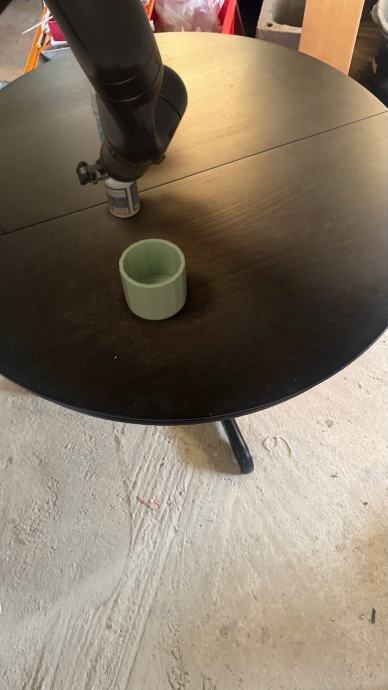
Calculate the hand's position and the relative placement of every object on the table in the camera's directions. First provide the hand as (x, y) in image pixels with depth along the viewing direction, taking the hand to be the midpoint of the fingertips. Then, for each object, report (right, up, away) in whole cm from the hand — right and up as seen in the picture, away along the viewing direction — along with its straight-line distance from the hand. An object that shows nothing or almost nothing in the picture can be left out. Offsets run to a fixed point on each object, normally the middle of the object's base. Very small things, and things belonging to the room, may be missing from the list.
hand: (116, 172), depth 84 cm
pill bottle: (+1, -5, +5) cm, 7 cm away
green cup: (+8, -23, -6) cm, 25 cm away
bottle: (-1, +5, +12) cm, 13 cm away
